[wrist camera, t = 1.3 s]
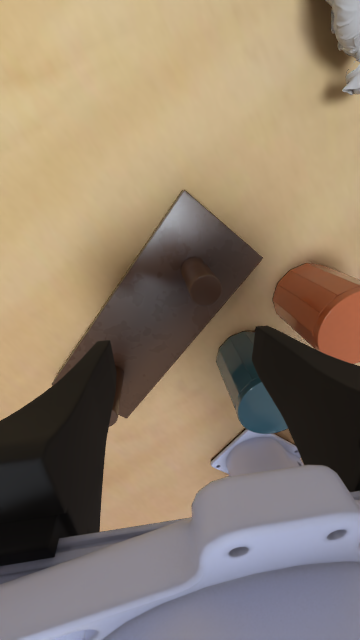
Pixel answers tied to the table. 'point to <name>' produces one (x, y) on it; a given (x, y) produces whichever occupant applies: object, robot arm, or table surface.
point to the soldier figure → (348, 36)
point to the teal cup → (247, 386)
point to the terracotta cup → (322, 309)
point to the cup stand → (166, 299)
